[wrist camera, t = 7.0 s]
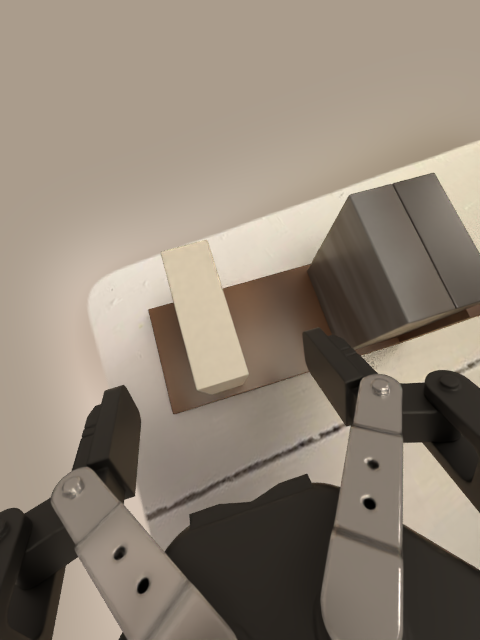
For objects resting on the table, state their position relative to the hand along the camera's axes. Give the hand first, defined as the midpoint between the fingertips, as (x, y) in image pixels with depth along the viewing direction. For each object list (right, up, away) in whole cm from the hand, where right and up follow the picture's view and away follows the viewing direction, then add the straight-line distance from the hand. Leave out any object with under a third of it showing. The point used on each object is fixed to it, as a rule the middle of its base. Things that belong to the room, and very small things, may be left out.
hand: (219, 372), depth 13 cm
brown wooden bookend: (+4, +2, +10) cm, 11 cm away
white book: (-1, +1, +9) cm, 9 cm away
